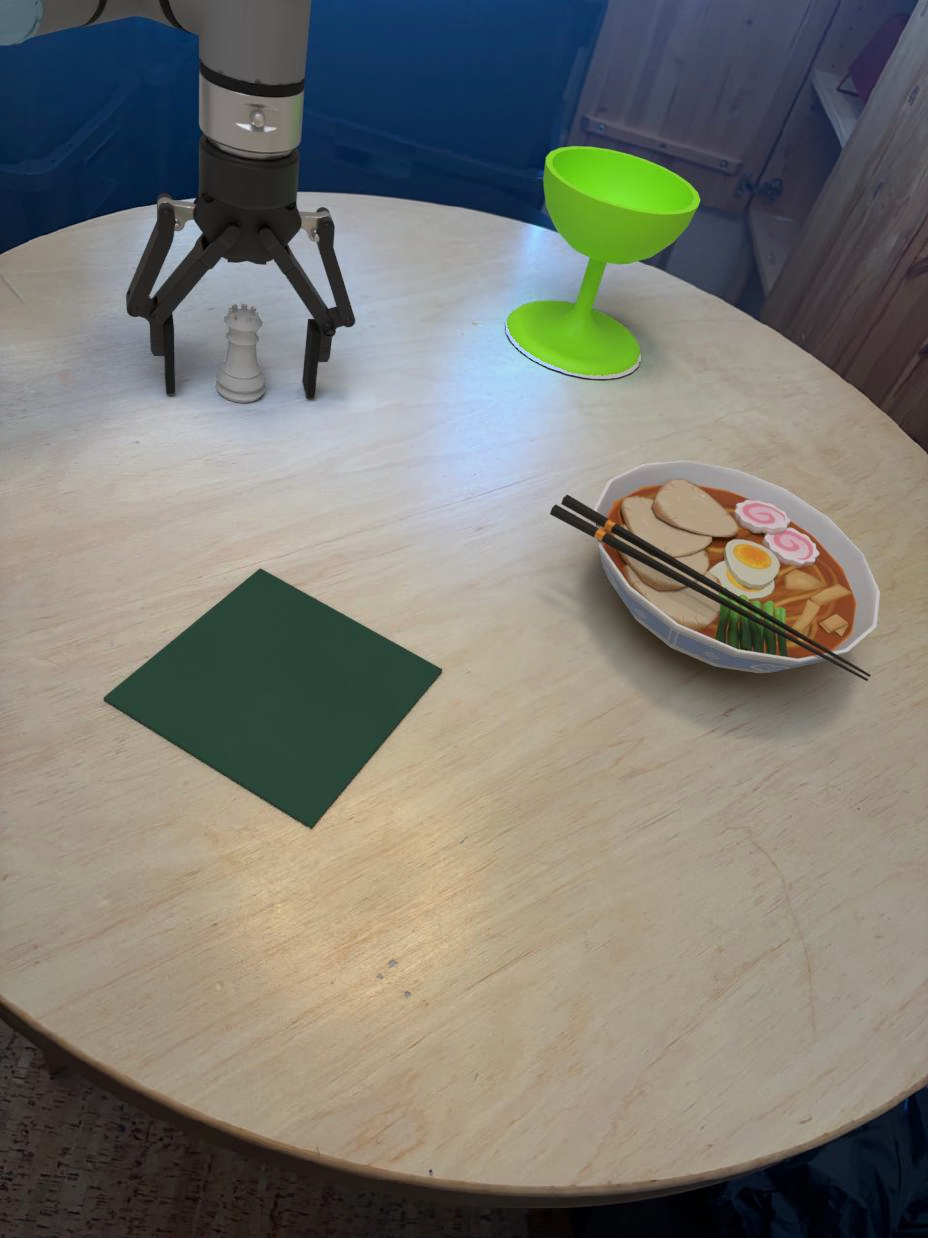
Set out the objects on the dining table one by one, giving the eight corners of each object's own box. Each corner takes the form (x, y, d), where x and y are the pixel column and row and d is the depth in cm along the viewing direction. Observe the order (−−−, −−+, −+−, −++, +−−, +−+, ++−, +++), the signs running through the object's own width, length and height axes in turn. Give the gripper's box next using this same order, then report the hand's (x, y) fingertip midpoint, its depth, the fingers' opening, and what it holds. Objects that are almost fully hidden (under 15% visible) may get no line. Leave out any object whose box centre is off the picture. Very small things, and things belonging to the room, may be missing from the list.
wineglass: (640, 394, 101) (702, 229, 89) (495, 356, 101) (537, 185, 89) (642, 327, 113) (698, 172, 101) (513, 292, 113) (552, 133, 100)
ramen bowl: (880, 624, 82) (931, 553, 76) (795, 789, 67) (851, 716, 61) (630, 487, 89) (660, 413, 83) (502, 608, 74) (528, 527, 68)
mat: (103, 700, 60) (103, 697, 60) (259, 570, 71) (260, 567, 71) (311, 829, 57) (311, 826, 56) (441, 672, 68) (442, 669, 68)
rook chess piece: (231, 409, 85) (233, 328, 79) (206, 383, 87) (207, 302, 81) (274, 398, 87) (279, 319, 82) (249, 373, 89) (253, 294, 84)
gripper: (79, 141, 66) (100, 408, 81) (414, 176, 73) (376, 413, 88) (80, 102, 71) (100, 360, 86) (393, 138, 78) (361, 369, 93)
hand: (240, 388), depth 87 cm, fingers open, 12 cm apart
